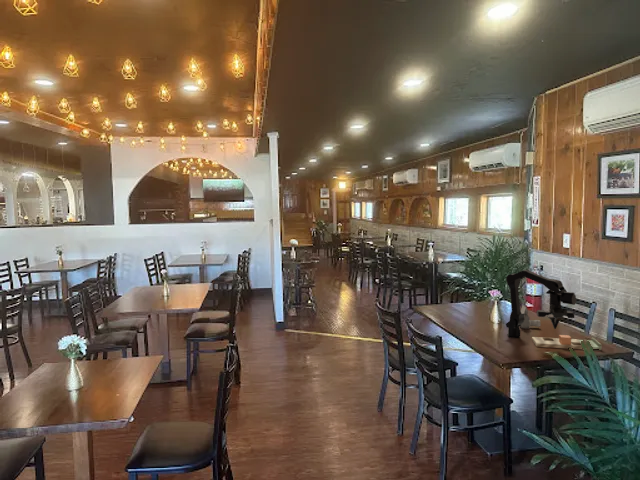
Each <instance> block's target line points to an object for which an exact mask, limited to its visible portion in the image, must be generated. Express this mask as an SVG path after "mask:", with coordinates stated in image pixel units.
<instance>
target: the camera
mask: <svg viewBox="0 0 640 480" xmlns="http://www.w3.org/2000/svg"><path fill="white" fill-rule="evenodd" d="M520 311H521V313H522V314H524V319H525V320H524V322H523V323H522V324H521V326H520V327H519V328H521V329H530V327H538V328H539V327H541V326H542V325H541V320H540V319H535V320H531V319H530V316H529V314H528V308H527V306H526V305H524V304H522V306H521V307H520Z"/></svg>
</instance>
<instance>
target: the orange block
mask: <svg viewBox="0 0 640 480" xmlns="http://www.w3.org/2000/svg"><path fill="white" fill-rule="evenodd" d="M558 338H559V342H560V343H561V344H567V345H571V339H572V336H570V335H569V334H568V335H567V334H559V335H558Z"/></svg>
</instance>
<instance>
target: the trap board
mask: <svg viewBox="0 0 640 480" xmlns="http://www.w3.org/2000/svg"><path fill="white" fill-rule="evenodd" d="M590 339H591V340H587V339H586V340H587V341H589V342H590V344H591V346H592V347H593V349H599V350H598V351H602V345H603V344H602V343H600V342H599V341H598V340H597V339H596V338H595V337H591V338H590ZM583 340H584V339H578V338H577V339H576V338H571V345H567V344H561V343H560V342H559V337H558V338H557V337H542V336H541V337H537V336H532V337H531V341H532V342H533V344H534V345H535V347H538V348H555V349H556V348H557V349H568V347H571V348H573V349H572V350H583V349H582V347H581V341H583Z"/></svg>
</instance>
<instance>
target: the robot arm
mask: <svg viewBox="0 0 640 480" xmlns="http://www.w3.org/2000/svg"><path fill="white" fill-rule="evenodd" d="M524 278H525V279H526V278H527V279H528V280H531V281H534V282H535V283H538V284H541V285H543V286H544V287H545V288H546V289H548V290H547V291H546V292H545V294H546V295H549V304H548V305H549V309H548V310H549V311H545V310H544V309H537V310H536V313H535V314H536V316H537V317H539V318H540V317H541V318H545V317H546V316H547V318H548V319H549V321H550V322H551V325H552V327H553V329H554V330H557V327H558V325H559V322H560V321H561V320H563V319H564V317H567V318H568V319H575V313H574V312H572V310H571V311H570V310H569V311H568V310H567V308H562V304H567V305H571V306H572V305H573V306H575V305H576V303H577V296H576V293H575V292H573V291H572V292H571V291H570V292H568V291H567V290H566V288H565V287H564V284H563V282H562V281H561V280H559V279H555V278H548V277H545V276H543V275H540V274H537V273H535V272H534V271H530V270H528V269H523V270H521V271H519V272H516V273H510V274H508V275H506V278H505V279H506V284H507V286H508V287H509V292H510V294H509V295H510V306H511V313H510V314H509V320H508V322H506V323H505V327H506V328H507V335H506V336H507V338H511V339H520V338H521V329H520V328H521V327H520V326H521V324H522V323H523V322H524V320H525V319H524V314H522V313H521V305H520V292H519V287H520V284H521V280H522V279H524Z"/></svg>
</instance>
